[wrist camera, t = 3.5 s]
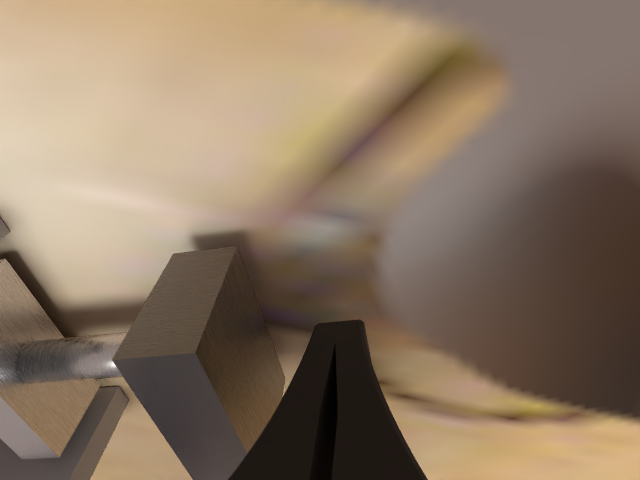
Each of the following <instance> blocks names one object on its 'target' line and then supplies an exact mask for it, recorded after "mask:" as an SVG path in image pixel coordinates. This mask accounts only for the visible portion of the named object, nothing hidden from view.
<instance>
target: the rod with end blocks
mask: <svg viewBox="0 0 640 480" xmlns="http://www.w3.org/2000/svg"><path fill="white" fill-rule="evenodd" d="M111 377H124V379H125V380H126V382H127V383H128V385H129V386H130V388H131V389H132V391H133V392H134V394H135V395H136V396H137V398H138V399H139V401H140V402H141V404H142V405H143V407H144V408H145V410H146V411H147V413H148V414H149V415H150V417H151V418H152V420H153V421H154V423H155V424H156V426H157V427H158V429H159V430H160V432H161V433H162V435H163V436H164V437H165V439H166V440H167V442H168V443H169V445H170V446H171V448H172V449H173V451H174V452H175V454H176V455H177V457H178V458H179V459H180V461H181V462H182V464H183V465H184V467H185V468H186V470H187V471H188V473H189V474H190V476H191V477H192V479H193V480H228V479H229V477H230V476H231V475H232V474H233V472H234V471H235V470H236V468H237V467H238V466H239V464H240V463H241V462H242V460H243V459H244V457H245V456H246V455H247V453H248V452H249V451H250V449H251V448H252V446H253V445H254V443H255V442H256V440H257V439H258V437H259V436H260V434H261V433H262V431H263V430H264V428H265V427H266V425H267V424H268V422H269V420H270V419H271V417H272V415H273V414H274V412H275V410H276V408H277V407H278V405H279V403H280V401H281V399H282V396H283V389H284V383H285V376H284V373H283V371H282V368H281V365H280V362H279V360H278V357H277V354H276V351H275V349H274V346H273V343H272V340H271V338H270V335H269V332H268V330H267V327H266V324H265V321H264V319H263V316H262V313H261V310H260V308H259V305H258V302H257V300H256V297H255V294H254V291H253V289H252V286H251V283H250V280H249V278H248V275H247V272H246V269H245V267H244V264H243V261H242V259H241V256H240V253H239V250H238V248H237V246H232V247H224V248H216V249H208V250H200V251H192V252H184V253H176V254H173V255H172V257H171V259H170V261H169V262H168V264H167V266H166V267H165V269H164V271H163V273H162V274H161V276H160V278H159V279H158V281H157V283H156V285H155V286H154V288H153V290H152V291H151V293H150V295H149V297H148V298H147V300H146V302H145V303H144V305H143V307H142V309H141V310H140V312H139V314H138V315H137V317H136V319H135V321H134V322H133V324H132V326H131V328H130V329H129V331H128V332H123V333H113V334H102V335H92V336H81V337H71V338H64V337H63V335H62V334H61V333H60V331H59V330H58V329H57V327H56V326H55V325H54V323H53V322H52V321H51V319H50V318H49V317H48V315H47V314H46V312H45V311H44V310H43V308H42V307H41V306H40V304H39V303H38V302H37V300H36V299H35V298H34V296H33V295H32V294H31V292H30V291H29V290H28V288H27V287H26V285H25V284H24V283H23V281H22V280H21V279H20V277H19V276H18V275H17V273H16V272H15V271H14V269H13V268H12V267H11V265H10V264H9V262H8V261H7V260H6V259H0V439H1V440H2V441H3V442H5V443H6V444H7V445H8V446H9V447H10V448H11V449H12V450H13V451H14V452H15V453H16V454H17V455H18V456H19V457H20V458H21V459H42V458H59V457H60V455H61V453H62V452H63V450H64V448H65V446H66V445H67V443H68V441H69V440H70V438H71V436H72V434H73V433H74V431H75V429H76V427H77V426H78V424H79V422H80V420H81V419H82V417H83V415H84V413H85V412H86V410H87V408H88V406H89V405H90V403H91V401H92V399H93V398H94V396H95V394H96V392H97V391H98V389H99V387H100V385H99V384H98V383H97V381H96V380H95V379H97V378H111Z"/></svg>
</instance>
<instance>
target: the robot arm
mask: <svg viewBox="0 0 640 480" xmlns="http://www.w3.org/2000/svg"><path fill="white" fill-rule="evenodd" d="M228 480H428V479H427V478H426V476H425V474H424V473H423V471H422V469H421V468H420V466H419V464H418V463H417V461H416V459H415V457H414V456H413V454H412V452H411V450H410V448H409V447H408V445H407V443H406V441H405V439H404V437H403V435H402V433H401V431H400V429H399V428H398V426H397V423H396V421H395V419H394V417H393V415H392V413H391V411H390V409H389V406H388V404H387V402H386V400H385V397H384V395H383V393H382V390H381V388H380V385H379V383H378V380H377V377H376V374H375V372H374V369H373V366H372V363H371V357H370V352H369V347H368V341H367V336H366V331H365V326H364V322H362V321H361V320H351V321H340V322H329V323H318V324H317V325H316V326H315V327H314V330H313V333H312V336H311V338H310V341H309V344H308V346H307V348H306V351H305V353H304V355H303V358H302V360H301V362H300V364H299V366H298V368H297V370H296V372H295V375H294V377H293V379H292V381H291V383H290V385H289V387H288V389H287V390H286V392H285V394H284V396H283V398H282V399H281V401H280V403H279V405H278V407H277V408H276V410H275V412H274V414H273V415H272V417H271V419H270V420H269V422H268V424H267V425H266V427H265V428H264V430H263V431H262V433H261V434H260V436H259V437H258V439H257V440H256V442H255V443H254V445H253V446H252V448H251V449H250V451H249V452H248V453H247V455H246V456H245V457H244V459H243V460H242V462H241V463H240V464H239V466H238V467H237V468H236V470H235V471H234V472H233V474H232V475H231V476H230V477H229V479H228Z"/></svg>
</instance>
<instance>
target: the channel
mask: <svg viewBox="0 0 640 480" xmlns="http://www.w3.org/2000/svg"><path fill="white" fill-rule="evenodd" d="M9 232H10V231H9V230H8V228H7V227H6V225H5V224H4V223H3V221H2V220H1V218H0V239H2V238H3V237H4V236H5V235H6V234H8V233H9ZM128 401H129V400H128V399H127V397H126V396H125V395H124V393H123V392H122V390H121V389H120V387H119V386H116V387H102V388H99V389H98V391H97V392H96V394H95V396H94V398H93V399H92V401H91V403H90V405H89V406H88V408H87V410H86V412H85V413H84V415H83V417H82V419H81V420H80V422H79V424H78V426H77V427H76V429H75V431H74V433H73V434H72V436H71V438H70V440H69V441H68V443H67V445H66V446H65V448H64V450H63V452H62V453H61V455H60V457H59V458H42V459H21V458H20V457H19V456H18V455H17V454H16V453H15V452H14V451H13V450H12V449H11V448H10V447H9V446H8V445H7V444H6V443H5V442H3V441H2V440H1V439H0V480H90V478H91V476H92V474H93V472H94V470H95V468H96V466H97V464H98V462H99V460H100V458H101V456H102V454H103V452H104V450H105V448H106V446H107V444H108V442H109V440H110V438H111V436H112V434H113V432H114V430H115V428H116V426H117V423H118V421H119V419H120V417H121V415H122V413H123V411H124V409H125V407H126V405H127V403H128Z"/></svg>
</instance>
